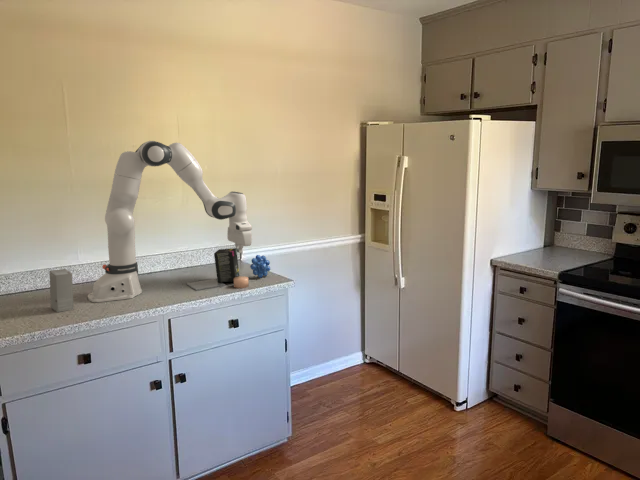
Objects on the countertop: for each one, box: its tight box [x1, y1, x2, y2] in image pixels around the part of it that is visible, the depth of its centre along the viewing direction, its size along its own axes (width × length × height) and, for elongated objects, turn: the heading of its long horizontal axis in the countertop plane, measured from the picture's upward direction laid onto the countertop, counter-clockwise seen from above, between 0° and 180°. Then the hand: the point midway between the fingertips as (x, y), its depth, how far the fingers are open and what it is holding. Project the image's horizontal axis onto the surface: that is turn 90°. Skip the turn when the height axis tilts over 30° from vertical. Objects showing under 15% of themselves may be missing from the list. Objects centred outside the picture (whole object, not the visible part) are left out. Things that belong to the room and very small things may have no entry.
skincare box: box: [48, 268, 75, 313], centre depth 197 cm, size 8×7×16 cm
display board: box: [186, 278, 226, 291], centre depth 232 cm, size 14×13×1 cm
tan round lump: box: [233, 275, 250, 289], centre depth 230 cm, size 7×7×4 cm
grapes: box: [249, 254, 271, 278], centre depth 243 cm, size 12×7×12 cm, turn 130°
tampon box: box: [213, 247, 240, 283], centre depth 237 cm, size 11×9×15 cm
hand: (239, 252), depth 240 cm, fingers closed
